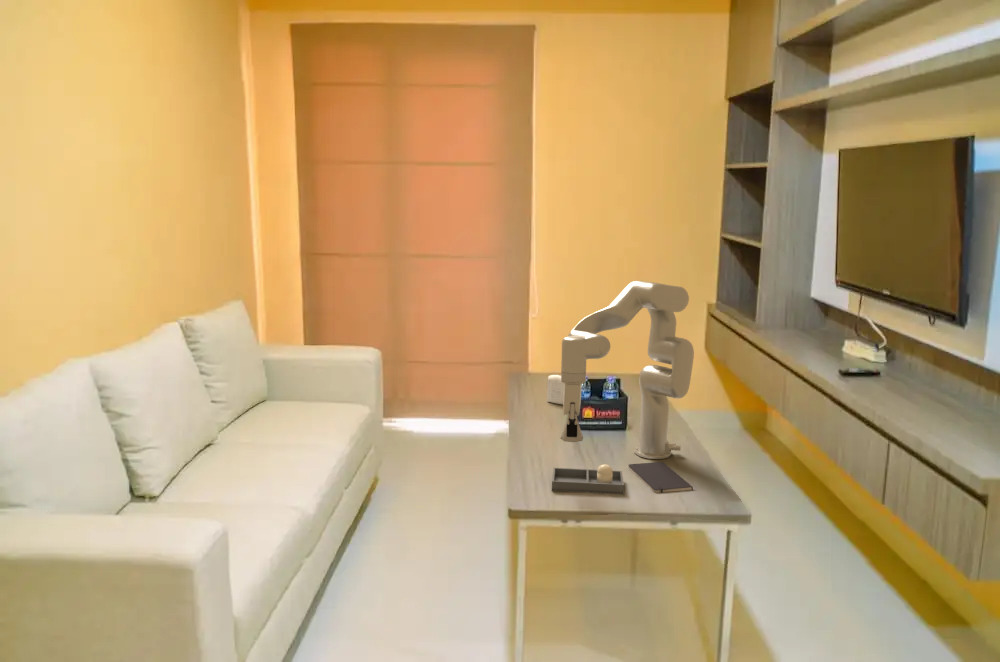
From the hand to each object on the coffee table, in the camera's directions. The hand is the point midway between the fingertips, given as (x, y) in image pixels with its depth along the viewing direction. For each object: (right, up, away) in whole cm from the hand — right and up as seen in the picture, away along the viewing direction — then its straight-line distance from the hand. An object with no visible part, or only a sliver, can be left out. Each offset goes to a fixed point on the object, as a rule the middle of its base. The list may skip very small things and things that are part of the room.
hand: (571, 433), depth 222 cm
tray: (+5, -17, +3) cm, 18 cm away
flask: (0, -2, 0) cm, 2 cm away
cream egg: (+10, -16, +2) cm, 19 cm away
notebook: (+29, -16, +9) cm, 34 cm away
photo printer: (+3, 0, +90) cm, 90 cm away
